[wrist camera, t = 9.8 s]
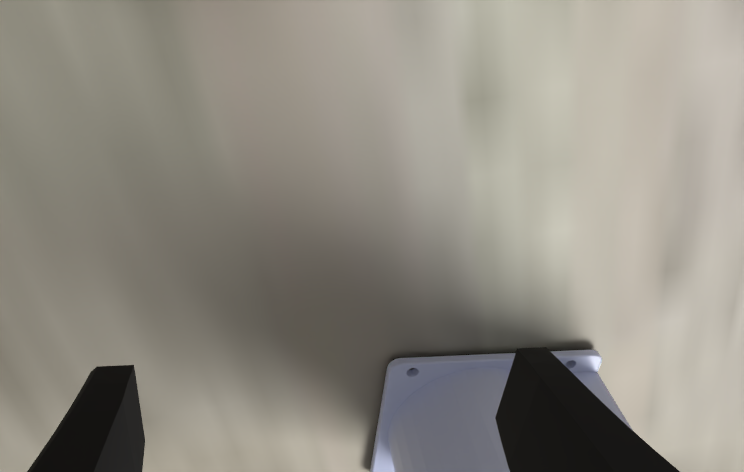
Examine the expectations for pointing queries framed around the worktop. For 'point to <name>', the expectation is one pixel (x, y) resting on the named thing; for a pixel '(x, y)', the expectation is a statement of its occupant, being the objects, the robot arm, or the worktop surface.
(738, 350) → the worktop surface
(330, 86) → the worktop surface
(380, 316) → the worktop surface
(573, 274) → the worktop surface
